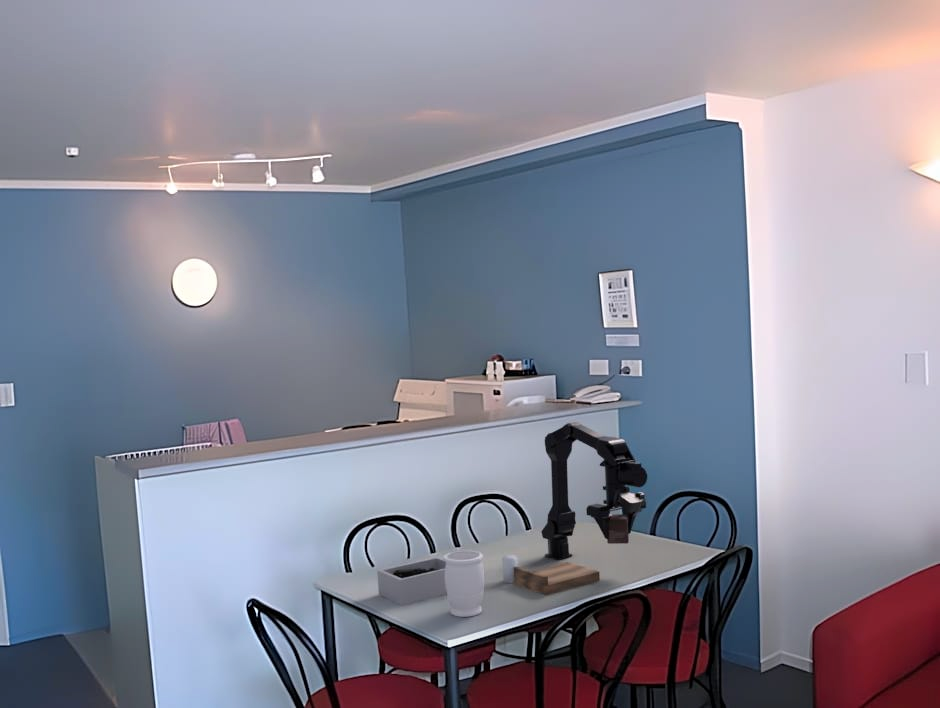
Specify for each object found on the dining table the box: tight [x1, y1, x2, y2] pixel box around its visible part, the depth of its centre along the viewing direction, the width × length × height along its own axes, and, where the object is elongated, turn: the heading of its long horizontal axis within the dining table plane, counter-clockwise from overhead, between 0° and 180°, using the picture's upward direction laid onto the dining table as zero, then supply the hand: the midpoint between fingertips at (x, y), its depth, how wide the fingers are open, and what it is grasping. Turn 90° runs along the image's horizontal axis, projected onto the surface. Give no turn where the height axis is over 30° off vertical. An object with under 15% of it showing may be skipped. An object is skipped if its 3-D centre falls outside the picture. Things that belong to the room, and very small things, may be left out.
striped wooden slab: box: [513, 561, 601, 596], centre depth 257 cm, size 14×20×5 cm
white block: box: [501, 554, 519, 584], centre depth 260 cm, size 4×4×7 cm
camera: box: [393, 568, 440, 578], centre depth 254 cm, size 14×7×8 cm, turn 83°
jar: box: [443, 550, 485, 618], centre depth 234 cm, size 11×10×15 cm
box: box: [606, 513, 630, 545], centre depth 261 cm, size 6×6×7 cm
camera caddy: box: [376, 556, 447, 607], centre depth 254 cm, size 13×20×7 cm, turn 124°
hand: (617, 536), depth 261 cm, fingers closed on box, 8 cm apart
